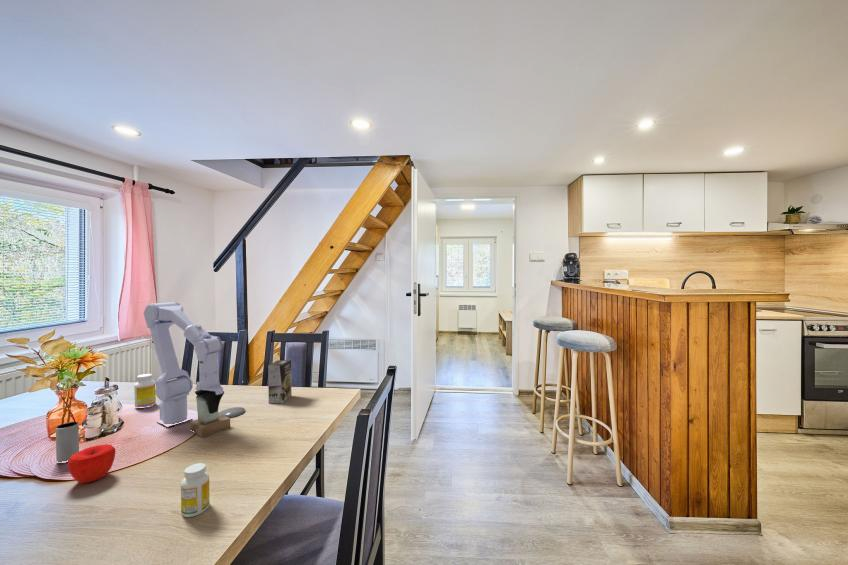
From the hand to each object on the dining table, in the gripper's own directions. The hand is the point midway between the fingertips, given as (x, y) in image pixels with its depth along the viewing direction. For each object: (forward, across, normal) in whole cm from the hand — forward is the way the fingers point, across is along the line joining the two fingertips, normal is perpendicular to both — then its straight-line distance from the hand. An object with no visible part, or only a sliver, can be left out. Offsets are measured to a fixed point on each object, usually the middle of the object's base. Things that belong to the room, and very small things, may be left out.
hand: (209, 411), depth 117 cm
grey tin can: (+6, -14, -32) cm, 36 cm away
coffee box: (+6, -4, +30) cm, 31 cm away
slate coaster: (+6, -7, +11) cm, 14 cm away
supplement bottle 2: (+6, +41, -22) cm, 47 cm away
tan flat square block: (+6, 0, 0) cm, 6 cm away
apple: (+6, +5, -31) cm, 32 cm away
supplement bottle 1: (+6, -45, -4) cm, 46 cm away
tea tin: (+3, 0, 0) cm, 3 cm away
